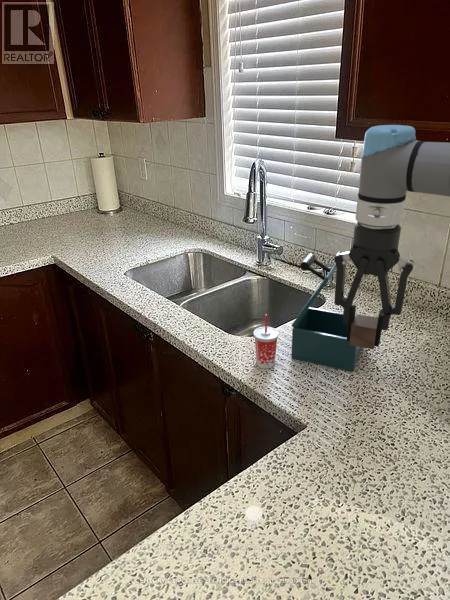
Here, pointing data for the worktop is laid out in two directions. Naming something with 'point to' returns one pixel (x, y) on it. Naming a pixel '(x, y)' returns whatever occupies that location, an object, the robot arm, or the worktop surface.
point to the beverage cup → (265, 345)
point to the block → (363, 331)
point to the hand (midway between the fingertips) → (363, 340)
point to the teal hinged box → (324, 340)
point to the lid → (306, 266)
